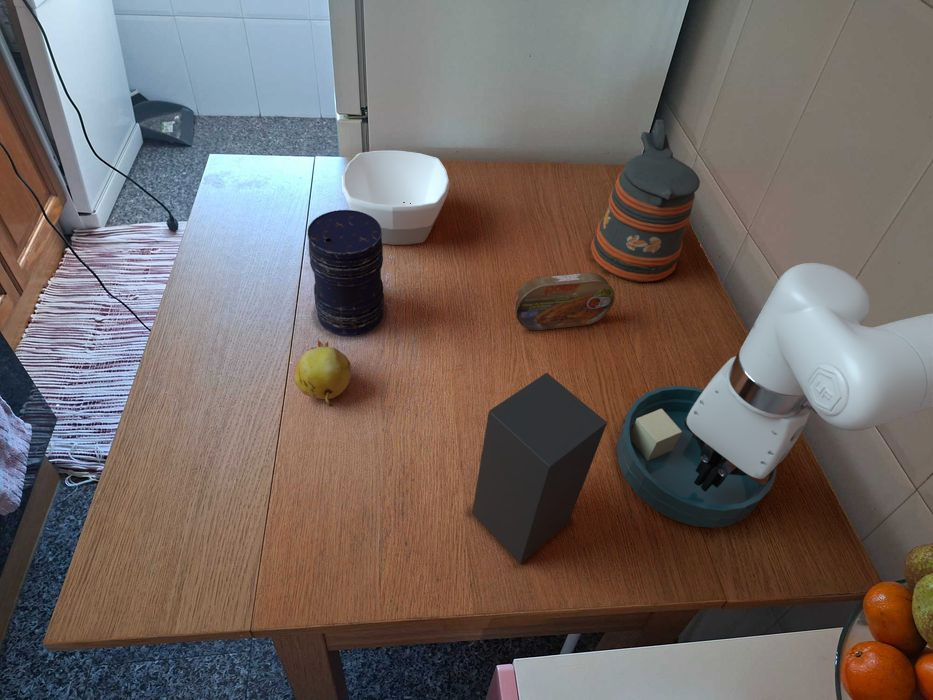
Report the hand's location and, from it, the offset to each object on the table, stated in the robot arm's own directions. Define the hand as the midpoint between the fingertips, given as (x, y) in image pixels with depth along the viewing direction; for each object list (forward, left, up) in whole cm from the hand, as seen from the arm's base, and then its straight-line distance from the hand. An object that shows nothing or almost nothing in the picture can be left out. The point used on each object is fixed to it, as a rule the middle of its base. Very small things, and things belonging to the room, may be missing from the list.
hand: (706, 480), depth 76 cm
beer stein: (+36, -33, -3) cm, 49 cm away
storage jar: (+51, +15, -3) cm, 54 cm away
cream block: (+8, -1, -3) cm, 9 cm away
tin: (+31, -9, -3) cm, 33 cm away
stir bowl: (+3, -3, -3) cm, 5 cm away
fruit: (+41, +26, -3) cm, 49 cm away
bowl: (+65, -4, -3) cm, 66 cm away
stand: (+11, +19, -3) cm, 23 cm away
